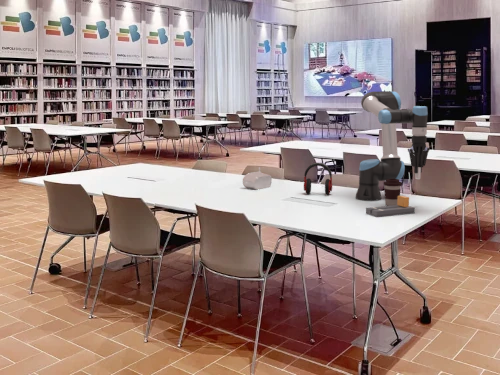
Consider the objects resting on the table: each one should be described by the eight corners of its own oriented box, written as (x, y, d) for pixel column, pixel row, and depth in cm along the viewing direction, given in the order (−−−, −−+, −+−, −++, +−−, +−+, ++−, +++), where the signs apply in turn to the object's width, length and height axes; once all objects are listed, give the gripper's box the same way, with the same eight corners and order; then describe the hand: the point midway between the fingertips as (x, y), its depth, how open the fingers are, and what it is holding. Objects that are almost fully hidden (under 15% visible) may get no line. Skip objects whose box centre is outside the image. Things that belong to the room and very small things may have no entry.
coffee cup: (392, 208, 337) (393, 181, 334) (379, 205, 345) (380, 179, 342) (404, 205, 343) (405, 179, 340) (391, 203, 350) (391, 177, 348)
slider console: (365, 213, 323) (366, 207, 323) (403, 209, 332) (403, 204, 332) (376, 217, 314) (376, 211, 314) (414, 213, 323) (414, 207, 323)
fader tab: (397, 208, 328) (397, 195, 327) (401, 208, 329) (402, 195, 328) (403, 210, 323) (404, 197, 322) (408, 210, 324) (409, 197, 323)
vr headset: (260, 185, 417) (260, 164, 414) (273, 187, 409) (273, 166, 407) (242, 188, 404) (242, 167, 401) (254, 190, 396) (254, 168, 394)
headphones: (332, 193, 384) (332, 162, 380) (331, 196, 374) (331, 164, 371) (304, 192, 387) (305, 161, 384) (303, 195, 378) (303, 163, 374)
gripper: (413, 136, 317) (412, 180, 321) (433, 135, 322) (432, 179, 325) (404, 135, 324) (403, 179, 327) (424, 134, 329) (423, 177, 332)
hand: (417, 179), depth 326 cm, fingers closed
